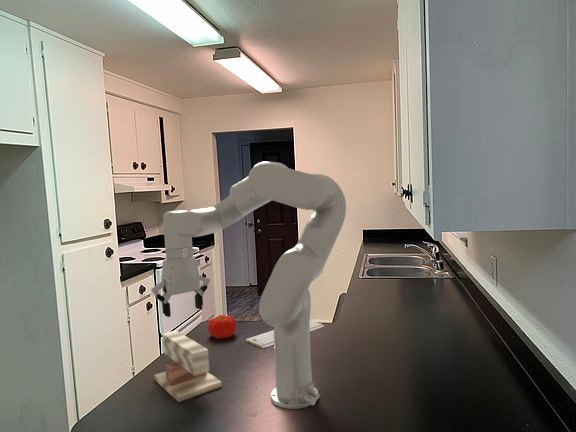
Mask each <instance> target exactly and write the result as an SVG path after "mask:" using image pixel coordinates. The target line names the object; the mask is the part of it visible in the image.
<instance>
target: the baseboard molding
mask: <svg viewBox="0 0 576 432" xmlns="http://www.w3.org/2000/svg"><path fill="white" fill-rule="evenodd" d="M325 327H326V326H325V325H323V324H322V323H320V322H316V321H313V320H310V333H311V332H314V331H317V330H320V329H322V328H325ZM245 342H246V343H248V342H249V343H248V344H250V343H251V344H250V345H252V346H255V345H256V346H255V347H258V348H260V347H261V348H260V349H262V348H263V350H265V349H267V347H268V348H270V346H271V347H273V346H274V329H273V330H270V331H267V332H264V333H261V334H258V335H255V336H250V337H247V338H245ZM272 345H273V346H272Z"/></svg>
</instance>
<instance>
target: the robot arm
mask: <svg viewBox="0 0 576 432" xmlns="http://www.w3.org/2000/svg"><path fill="white" fill-rule="evenodd" d="M271 201H274V202H276V203H280V204H283V205H286V206H290V207H292V208H293V207H294V208H297V209H300V210H305V211H310V210H312V213H311V215H310V217H309V218H308V221H306V224H305V226H304V228H303V230H302V232H301V235H300V237H299V239H298V240H297V243H296V244H295V246H294V247H292V248H290V249H288V250H286V251H285V252H284V253H283V254H282V255H281V256H280V257H279V259H278V261H277V262H276V264H275V265H274V267H273V269H272V272H271V274H270V277H269V278H268V281H267V283H266V285H265V287H264V289H263V292H262V294H261V297H260V299H259V305H258V308H259V309H258V310H259V315H260V316H261V319H262V320H263V322H265V324H266V325H268V326H269V327H273V330H274V345H273V346H274V347H273V349H274V351H273V352H274V369H275V370H274V371H275V388H273V390H272V391H270V401H271V402H272V403H273V404H274V405H276V407H279V408H282V409H289V410H297V409H303V408H304V409H305V408H307V407H310V406H315V404H316V403H317V401H318V399H319V398H320V396H321V395H320V394H319V392H318V391H319V390H318V389H317V388H316V387H315V383H313V379H312V356H311V351H312V350H311V332H310V321H311V307H312V306H311V305H312V304H311V303H312V301H311V299H312V297H311V292H310V290H309V288H310V286H311V284H312V283H314V281H315V280H317V279H318V278H319V277H320V276H321V274H323V270H324V269H325V265H326V264H327V261H328V259H329V257H330V254H331V252H332V251H333V248H334V245H335V243H336V241H337V239H338V236H339V235H340V232H341V230H342V227H343V226H344V225H343V224H344V222H345V218H346V215H347V214H346V213H347V201H346V197H345V195H344V192H343V190H342V188H341V187H340V185H339V184H338V183H337V182H336V181H335V180H334V179H333V178H332V177H330V176H328V175H326V174H321V173H307V172H303V171H301V170H296V169H292V168H289V167H288V166H287V165H286V164H283V163H281V162H275V161H261V162H258V163H257V164H255V165H253V167H252V168H251V169H250V171H249V173H248V175H247V177H246V178H243V179H242V180H240V181H239V182H237V183H235V184H233V185H232V186H231V187H230V189H229V196H227V197H226V198H225V199H223V200H221V201H220V202H217V203H216V204H214V205H213V206H210V207H205V208H204V207H203V208H198V209H189V210H183V209H181V210H169V211H166V212H164V214H163V216H162V223H163V233H164V234H163V236H164V248H165V259H163V261H162V265H161V281H160V282H159V283H157V284H156V285H155V286H154V287H152V288H151V292H152V294H153V295H154V297H155V298H156V299H157V300H158V301H159V302H161V306H162V310H161V311H162V314H163V315H164V317H167V318H170V317H171V315H172V314H171V313H172V312H171V303H170V302H169V301H170V299H171V297H172V296H176V295H181V294H186V293H191V292H194V293H195V294H194V302H195V303H194V304H195V305H194V306H195V308H196V309H197V310H203V306H204V301H203V299H204V298H203V296H204V295H205V292H206V291H207V289H208V286H209V283H210V279H209V278H208V277H204V276H203V275H200V272H199V266H198V263H197V259H196V256H194V255H195V254H194V253H197V250H198V249H197V247H194V246H193V238H198V237H203V236H207V235H211V234H216V233H218V232H220V231H222V230H224V229H227V227H230V226H231V225H234V224H235V223H237V222H238V221H240V220H241V219H243V218H244V217H247V215H248V214H250V213H251V212H253V211H255V210H257V209H259V208H260V207H263V206H264V205H266V204H268V203H269V202H271ZM201 281H202V284H201ZM160 290H161V291H162V292H163V294H162V295H161V294H160Z"/></svg>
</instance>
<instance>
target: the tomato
mask: <svg viewBox="0 0 576 432" xmlns="http://www.w3.org/2000/svg"><path fill="white" fill-rule="evenodd" d="M207 329H208V330H207V331H208V334H209V335H210V336H211V337H213V338H215V339H218V340H219V339H221V340H222V339H227V338H231V336H234V334H235V332H236V330H237V322H236V320H235V318H233V316H231V315H226V314H220V315H217V316H216V317H213V318H210V320H209V321H208V324H207Z"/></svg>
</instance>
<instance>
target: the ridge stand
mask: <svg viewBox="0 0 576 432" xmlns="http://www.w3.org/2000/svg"><path fill="white" fill-rule="evenodd" d="M153 379H154V381H155V382H156V383H157V384H158V385H159V386H161V388H162V389H163V390H165V391H166V392H167V393H168V394H170V396H171V397H172V398H174V399H175V401H176V402H178V403H181V402H183V401H185V400H189V399H192V398H194V397H196V396H199V395H202V394H206V393H208V392H211V391H213V390H216V389H219V388H222V387H223V385H222V380H220V379H218V378H217V377H216V376H215V375H213V374H211V373H210V372H209V371H207V372H204V373H201V374H198V375H195V376H194V375H193V374H191V373H190V372H189V371H187V370H186V369H185V368H183V367H182V366H181V365H179V364H178V363H177V362H175V361H174V362H171V363H169V364H165V371H161V372H159V373H155V374H153Z"/></svg>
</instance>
